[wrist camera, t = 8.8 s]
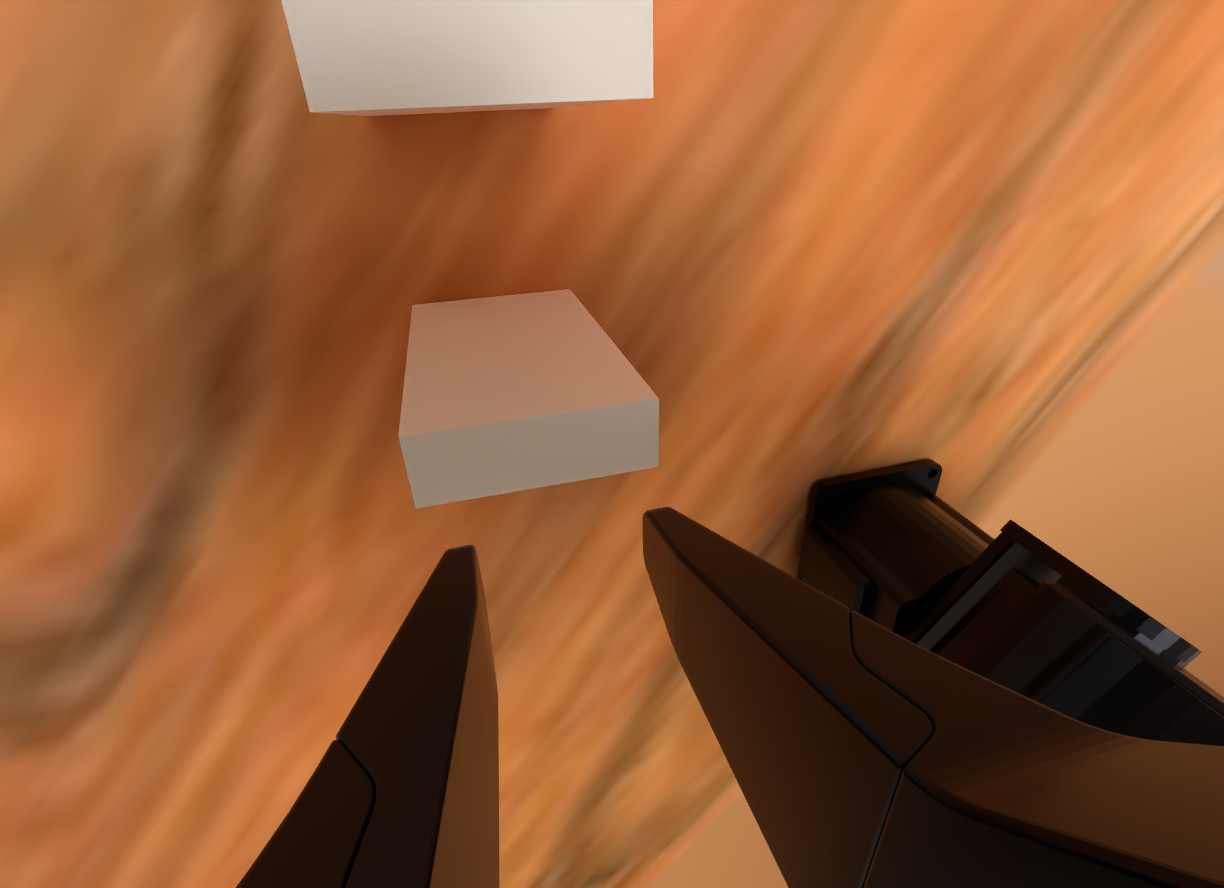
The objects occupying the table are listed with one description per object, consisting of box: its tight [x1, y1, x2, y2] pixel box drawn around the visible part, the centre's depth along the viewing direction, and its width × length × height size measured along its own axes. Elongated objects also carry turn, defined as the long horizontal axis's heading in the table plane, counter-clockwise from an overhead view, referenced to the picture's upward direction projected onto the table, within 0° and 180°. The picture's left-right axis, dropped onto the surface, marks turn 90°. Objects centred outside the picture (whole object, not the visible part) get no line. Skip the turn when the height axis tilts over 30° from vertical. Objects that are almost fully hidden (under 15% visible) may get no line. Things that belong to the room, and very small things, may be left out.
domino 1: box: [281, 0, 653, 116], centre depth 12 cm, size 5×2×9 cm, turn 92°
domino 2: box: [398, 289, 659, 509], centre depth 15 cm, size 5×2×9 cm, turn 92°
